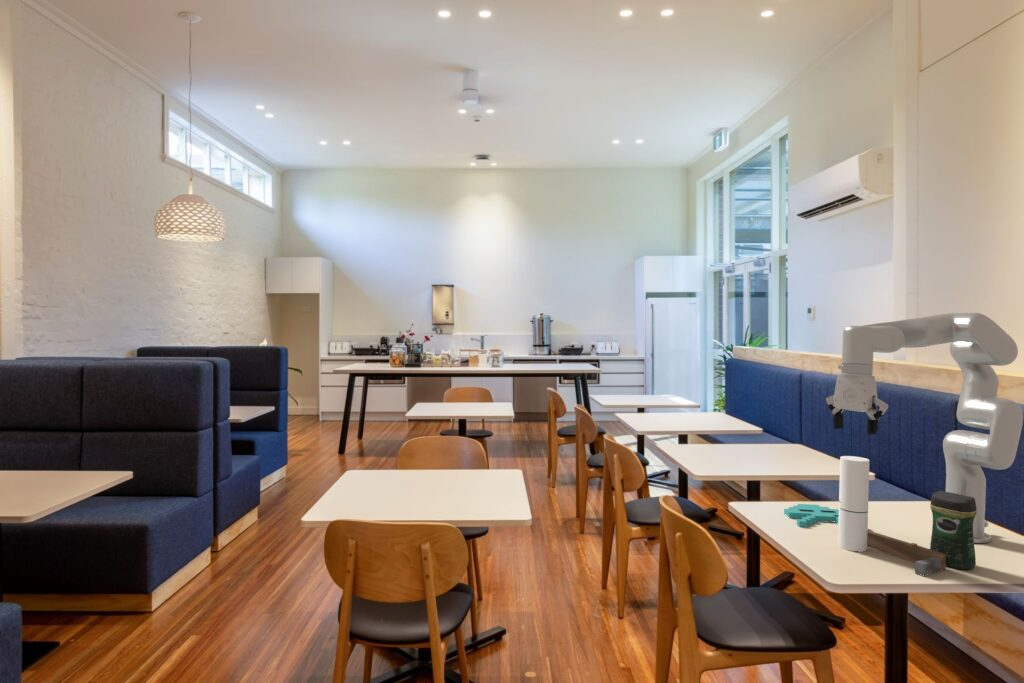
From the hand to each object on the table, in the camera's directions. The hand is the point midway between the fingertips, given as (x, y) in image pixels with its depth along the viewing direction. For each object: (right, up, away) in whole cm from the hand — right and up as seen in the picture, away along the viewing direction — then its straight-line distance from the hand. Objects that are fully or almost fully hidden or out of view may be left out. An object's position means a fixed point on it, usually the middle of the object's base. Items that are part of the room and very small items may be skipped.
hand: (854, 431), depth 168 cm
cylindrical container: (0, -33, +1) cm, 33 cm away
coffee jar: (+20, -34, -10) cm, 40 cm away
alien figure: (+4, -33, +27) cm, 43 cm away
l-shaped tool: (+4, -33, -5) cm, 34 cm away
